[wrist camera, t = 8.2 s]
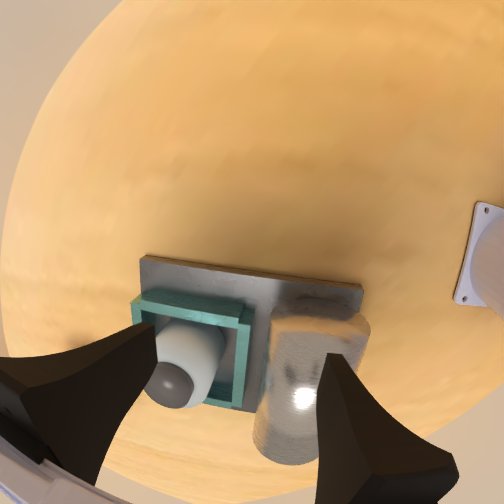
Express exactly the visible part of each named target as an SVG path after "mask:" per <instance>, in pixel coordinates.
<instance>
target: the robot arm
mask: <svg viewBox="0 0 504 504" xmlns="http://www.w3.org/2000/svg"><path fill="white" fill-rule="evenodd" d="M485 208H486V212H484V209H485ZM464 296H465V298H464V300H462V299H463V297H464ZM453 300H454V302H455V303H456V304H460V305H472V306H484V307H490V308H491V309H492V310H493V311H494V312H495V313H496V314H497V315H498V316H500V317H501V318H502V319H503V320H504V209H503V208H500V207H497V206H493V205H490V204H487V203H483V202H478V203H477V204H476V206H475V211H474V216H473V222H472V227H471V232H470V237H469V241H468V246H467V250H466V254H465V258H464V262H463V266H462V270H461V274H460V277H459V281H458V284H457V287H456V291H455V294H454V298H453ZM157 363H158V357H157V347H156V337H155V325H154V324H149V323H145V322H140V323H137V324H135V325H133V326H130V327H128V328H126V329H124V330H121V331H119V332H117V333H115V334H113V335H110V336H108V337H106V338H103V339H101V340H98V341H96V342H93V343H91V344H88V345H86V346H83V347H80V348H76V349H73V350H69V351H66V352H61V353H56V354H51V355H45V356H37V357H24V358H12V357H0V490H1V491H2V492H3V493H4V494H6V495H7V496H8V497H9V498H10V499H11V500H12V501H14V502H15V503H16V504H132V503H129V502H127V501H124V500H122V499H120V498H117V497H115V496H113V495H111V494H109V493H107V492H104V491H102V490H100V489H98V488H96V487H95V483H96V480H97V477H98V474H99V471H100V468H101V466H102V463H103V461H104V458H105V455H106V453H107V451H108V448H109V446H110V444H111V442H112V440H113V437H114V435H115V433H116V431H117V429H118V427H119V425H120V423H121V422H122V420H123V418H124V417H125V415H126V413H127V412H128V410H129V409H130V408H131V406H132V405H133V403H134V402H135V400H136V399H137V398H138V396H139V395H140V393H141V392H142V390H143V389H144V387H145V386H146V384H147V383H148V381H149V380H150V378H151V376H152V374H153V372H154V370H155V368H156V366H157ZM316 420H317V434H318V450H319V467H318V479H317V490H316V499H315V504H438V503H437V502H438V501H439V500H440V499H441V498H442V497H443V496H444V495H446V494H447V493H448V492H449V491H450V490H451V489H452V488H453V487H454V485H455V484H456V483H457V481H458V479H459V472H458V469H457V466H456V463H455V460H454V458H453V456H452V454H451V453H449V452H447V451H445V450H443V449H441V448H438V447H436V446H434V445H432V444H430V443H429V442H427V441H425V440H424V439H422V438H420V437H419V436H417V435H416V434H414V433H413V432H411V431H410V430H408V429H407V428H406V427H404V426H403V425H402V424H401V423H399V422H398V421H397V420H396V419H394V418H393V417H392V416H391V415H390V414H389V413H388V412H387V411H386V410H385V409H384V408H383V407H382V406H381V405H380V404H379V403H378V402H377V401H376V400H375V399H374V397H373V396H372V395H371V394H370V393H369V392H368V390H367V389H366V388H365V386H364V385H363V384H362V382H361V381H360V380H359V378H358V377H357V375H356V374H355V373H354V371H353V370H352V368H351V367H350V365H349V364H348V362H347V361H346V359H345V358H344V356H343V355H342V354H337V353H327V355H326V359H325V363H324V366H323V370H322V374H321V377H320V381H319V384H318V388H317V397H316Z"/></svg>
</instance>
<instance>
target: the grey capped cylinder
mask: <svg viewBox="0 0 504 504" xmlns="http://www.w3.org/2000/svg"><path fill="white" fill-rule="evenodd" d="M156 347H157V357H158V363H157V366H156V368H155V370H154V372H153V374H152V376H151V378H150V380H149V381H148V383H147V384H146V386H145V387H144V390H145V392H146V393H147V395H148V396H149V397H150V398H151V399H152V400H154V401H155V402H157V403H158V404H160V405H162V406H165V407H168V408H175V409H176V408H191V407H195V406H197V405H199V404H201V403H202V402H203V401H204V400H205V399H206V397H207V394H208V392H209V389H210V387H211V384H212V382H213V380H214V377H215V375H216V372H217V370H218V367H219V365H220V362H221V360H222V357H223V355H224V352H225V340H224V337H223V335H222V333H221V331H220V330H219V328H218V327H217V326H216V325H212V324H207V323H202V322H196V321H191V320H186V319H181V318H176V317H173V318H171V319H170V320H169V321H168V323H167V324H166V325H165V326H164V328H163V329H162V330H161V331H160V333H159V334H158V335H157V336H156Z"/></svg>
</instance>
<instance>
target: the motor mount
mask: <svg viewBox="0 0 504 504" xmlns="http://www.w3.org/2000/svg"><path fill="white" fill-rule="evenodd" d="M140 282H141V294H140V295H139V296H138V297H136V298H135V299H134V300H133V301H132V302H131V312H132V322H133V325H135V324H137V323H140V322H145V323H149V324H154V325H155V337H156V336H157V335H158V334H159V333H160V331H161V330H162V329H163V328H164V326H165V325H166V324H167V323H168V321H169V320H170V319H171V318H173V317H176V318H181V319H186V320H191V321H196V322H202V323H207V324H212V325H216V326H217V327H218V328H219V330H220V331H221V333H222V335H223V337H224V340H225V352H224V355H223V357H222V360H221V362H220V365H219V367H218V370H217V372H216V375H215V377H214V380H213V382H212V384H211V387H210V389H209V392H208V394H207V397H206V399H205V400H204V401H203V402H202V403H204V404H209V405H213V406H218V407H223V408H228V409H234V410H239V411H245V412H251V413H256V415H255V422H254V428H253V441H254V444H255V446H256V448H257V449H258V450H259V452H260V453H261V454H262V455H264V456H265V457H266V458H268V459H270V460H272V461H274V462H276V463H280V464H284V465H301V464H305V463H309V462H311V461H313V460H315V459H316V458H318V457H319V450H318V434H317V420H316V397H317V388H318V384H319V381H320V377H321V374H322V370H323V366H324V363H325V359H326V355H327V353H337V354H342V355H343V356H344V358H345V359H346V361H347V362H348V364H349V365H350V367H351V368H352V370H353V371H354V373H355V374H357V371H358V368H359V366H360V363H361V360H362V357H363V354H364V351H365V348H366V345H367V342H368V339H369V336H370V325H369V323H368V322H367V320H366V319H365V318H364V317H363V316H362V315H361V314H359V313H358V312H359V309H360V305H361V301H362V297H363V293H364V289H363V287H362V285H358V284H349V283H341V282H333V281H325V280H318V279H310V278H302V277H295V276H287V275H280V274H272V273H265V272H257V271H250V270H243V269H236V268H229V267H222V266H215V265H208V264H201V263H195V262H188V261H181V260H174V259H168V258H161V257H155V256H148V255H145V256H144V257H142V258H140Z"/></svg>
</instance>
